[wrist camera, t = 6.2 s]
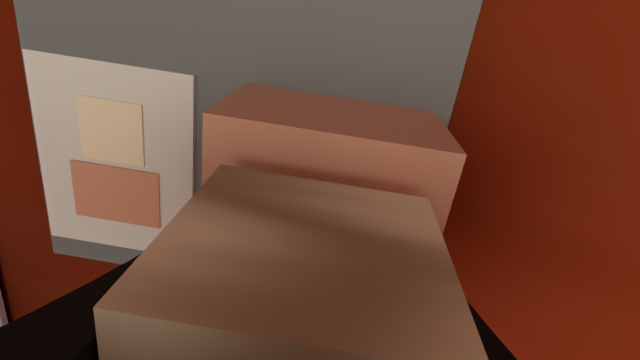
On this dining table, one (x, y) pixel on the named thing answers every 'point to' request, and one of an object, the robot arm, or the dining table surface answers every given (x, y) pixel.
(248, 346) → the cream cube
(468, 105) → the dining table surface
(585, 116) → the dining table surface
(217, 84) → the build board
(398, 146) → the terracotta block
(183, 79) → the card
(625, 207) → the dining table surface
